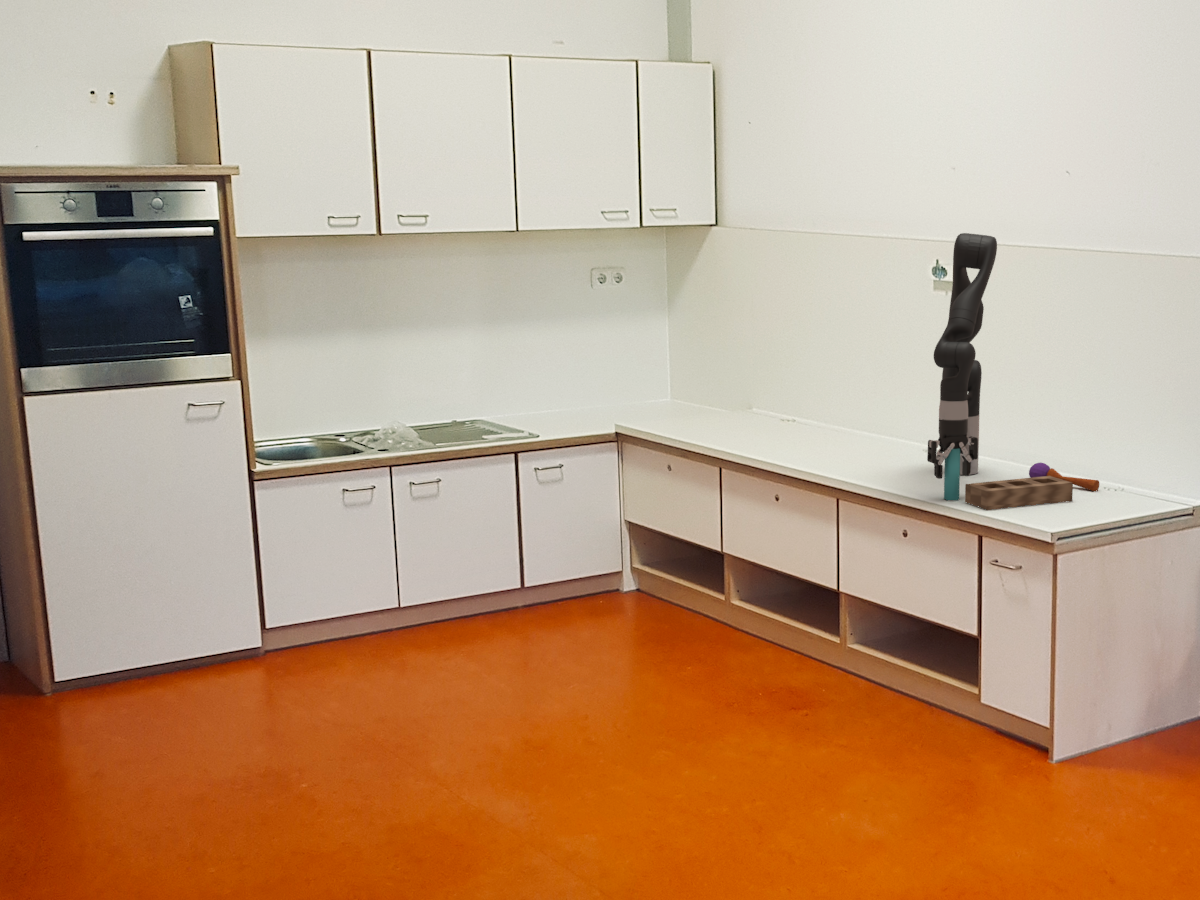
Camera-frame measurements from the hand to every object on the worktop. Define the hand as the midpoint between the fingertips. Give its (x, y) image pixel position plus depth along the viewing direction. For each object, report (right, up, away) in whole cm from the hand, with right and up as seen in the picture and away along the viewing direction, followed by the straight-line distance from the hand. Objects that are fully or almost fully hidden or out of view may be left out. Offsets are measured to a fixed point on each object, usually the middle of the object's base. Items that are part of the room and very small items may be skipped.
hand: (952, 476), depth 359 cm
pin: (0, -6, +1) cm, 6 cm away
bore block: (+16, -7, -4) cm, 18 cm away
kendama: (+34, -3, +14) cm, 37 cm away
